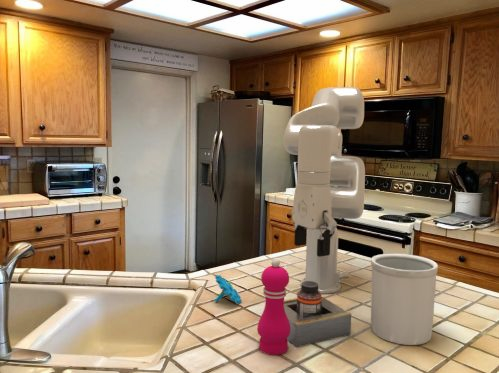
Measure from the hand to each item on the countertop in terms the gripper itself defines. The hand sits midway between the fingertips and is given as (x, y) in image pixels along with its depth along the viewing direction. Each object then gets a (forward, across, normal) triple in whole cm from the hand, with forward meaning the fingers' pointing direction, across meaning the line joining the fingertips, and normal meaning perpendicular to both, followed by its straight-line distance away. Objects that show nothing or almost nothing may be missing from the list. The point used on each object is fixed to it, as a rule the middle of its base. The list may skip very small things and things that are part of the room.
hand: (311, 250), depth 99 cm
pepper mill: (+20, +5, -13) cm, 24 cm away
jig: (+20, 0, 0) cm, 20 cm away
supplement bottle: (+20, 0, 0) cm, 20 cm away
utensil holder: (+20, +10, +19) cm, 29 cm away
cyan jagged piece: (+20, -23, -12) cm, 33 cm away
